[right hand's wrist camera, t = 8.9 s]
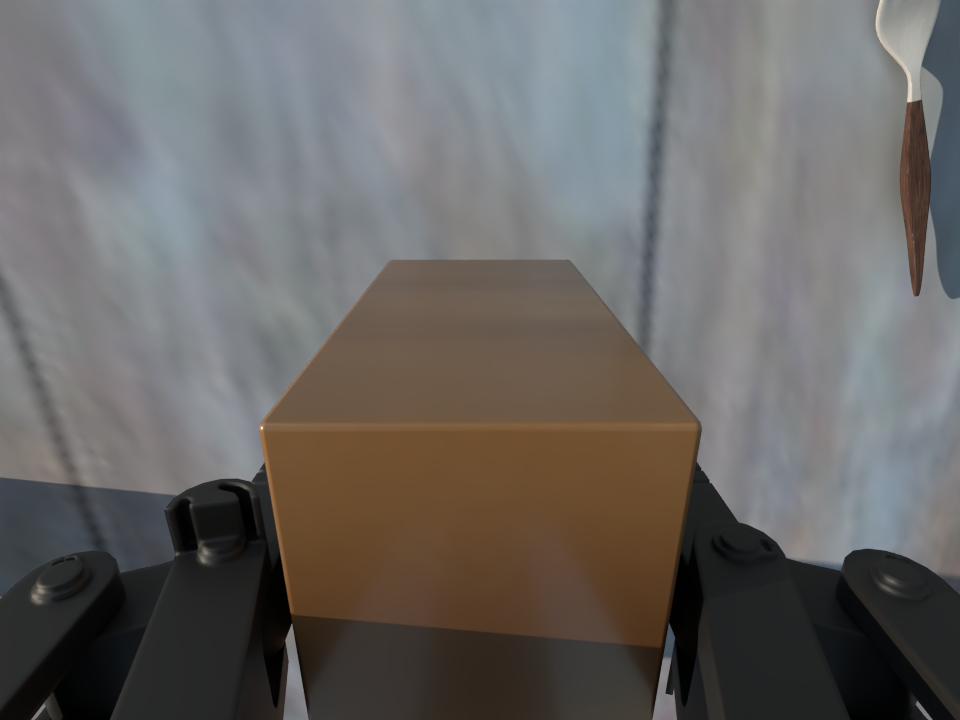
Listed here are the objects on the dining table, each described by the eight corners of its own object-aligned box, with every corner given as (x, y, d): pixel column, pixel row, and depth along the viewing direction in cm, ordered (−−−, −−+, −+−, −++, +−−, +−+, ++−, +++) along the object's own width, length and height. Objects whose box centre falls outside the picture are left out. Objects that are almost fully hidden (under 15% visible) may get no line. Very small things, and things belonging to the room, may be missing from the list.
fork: (881, 300, 27) (911, 312, 25) (870, -69, 22) (907, -89, 20) (935, 286, 27) (969, 296, 25) (938, -92, 21) (982, -115, 20)
